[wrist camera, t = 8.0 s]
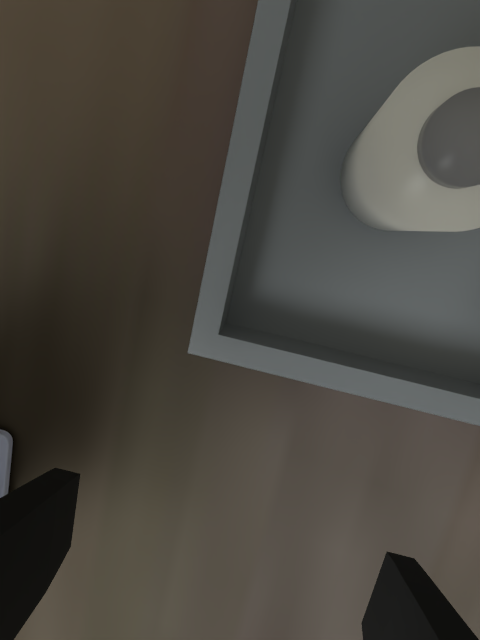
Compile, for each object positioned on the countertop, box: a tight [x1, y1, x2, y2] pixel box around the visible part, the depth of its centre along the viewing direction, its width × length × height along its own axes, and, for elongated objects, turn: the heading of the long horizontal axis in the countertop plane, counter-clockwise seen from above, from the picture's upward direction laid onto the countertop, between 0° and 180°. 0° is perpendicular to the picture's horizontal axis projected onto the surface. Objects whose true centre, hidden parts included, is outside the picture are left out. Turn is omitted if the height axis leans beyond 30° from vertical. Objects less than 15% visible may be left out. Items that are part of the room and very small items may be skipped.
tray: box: [188, 0, 480, 426], centre depth 14 cm, size 14×20×2 cm
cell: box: [340, 46, 480, 232], centre depth 12 cm, size 4×4×7 cm
